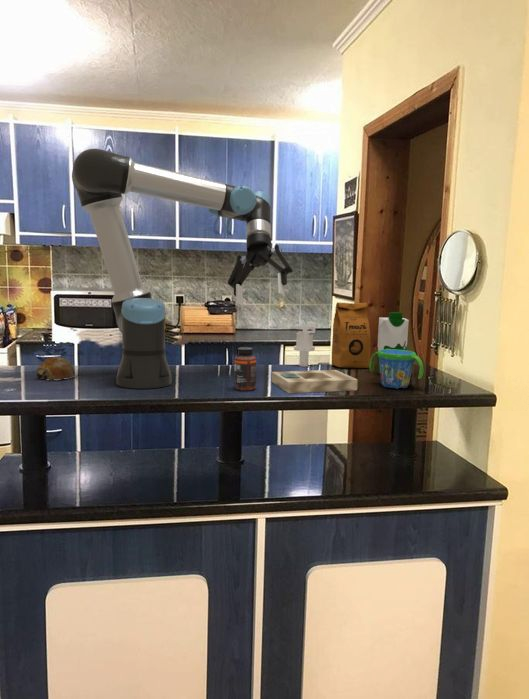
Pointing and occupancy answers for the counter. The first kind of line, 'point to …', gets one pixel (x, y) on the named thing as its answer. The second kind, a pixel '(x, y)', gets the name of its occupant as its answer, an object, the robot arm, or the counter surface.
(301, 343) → the pale grey stepped figure
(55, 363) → the bread roll
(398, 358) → the snack cup
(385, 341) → the milk carton
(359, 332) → the coffee package
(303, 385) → the birch socket block
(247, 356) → the supplement bottle
